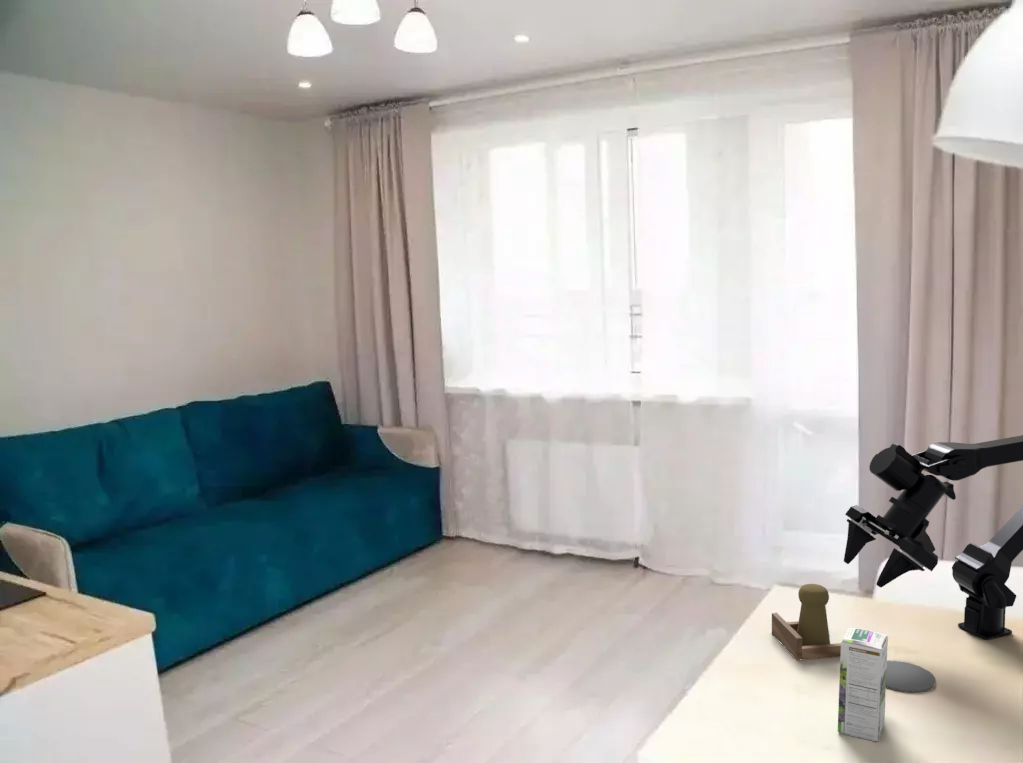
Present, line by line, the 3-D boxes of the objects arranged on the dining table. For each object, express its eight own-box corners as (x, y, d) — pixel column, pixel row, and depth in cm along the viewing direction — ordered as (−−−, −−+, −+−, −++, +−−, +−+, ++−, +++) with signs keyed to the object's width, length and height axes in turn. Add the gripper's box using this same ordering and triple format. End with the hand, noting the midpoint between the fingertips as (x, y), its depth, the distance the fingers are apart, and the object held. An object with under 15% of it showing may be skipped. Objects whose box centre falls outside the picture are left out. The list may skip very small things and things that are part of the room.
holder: (823, 629, 162) (823, 609, 162) (851, 655, 152) (851, 634, 151) (771, 633, 161) (771, 613, 161) (796, 660, 151) (796, 638, 150)
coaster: (902, 659, 150) (902, 656, 149) (949, 685, 140) (949, 682, 140) (855, 670, 146) (855, 667, 146) (900, 697, 137) (900, 694, 137)
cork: (825, 637, 159) (826, 580, 158) (834, 651, 153) (835, 592, 152) (792, 636, 160) (792, 580, 158) (799, 651, 154) (800, 592, 152)
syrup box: (844, 715, 132) (846, 625, 130) (886, 724, 129) (888, 632, 127) (837, 733, 127) (838, 640, 125) (880, 743, 124) (882, 648, 122)
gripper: (979, 547, 149) (925, 619, 150) (905, 506, 166) (856, 570, 167) (941, 517, 145) (885, 591, 146) (869, 477, 162) (819, 544, 163)
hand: (861, 574), depth 156 cm, fingers open, 9 cm apart
